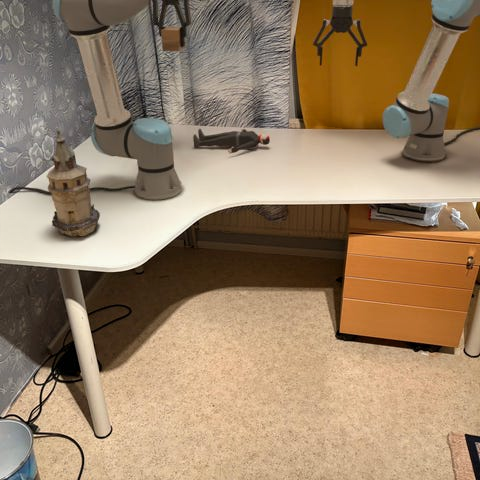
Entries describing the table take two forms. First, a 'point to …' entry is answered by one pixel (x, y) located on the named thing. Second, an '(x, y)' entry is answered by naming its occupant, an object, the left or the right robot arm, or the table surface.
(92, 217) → the miniature building
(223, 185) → the table surface
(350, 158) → the table surface
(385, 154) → the table surface
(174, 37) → the brick
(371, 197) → the table surface
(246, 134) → the toy
